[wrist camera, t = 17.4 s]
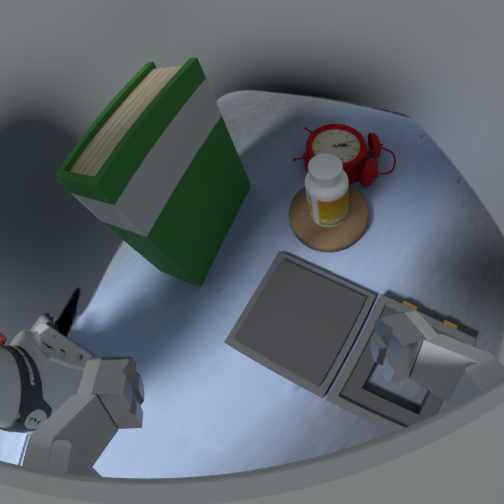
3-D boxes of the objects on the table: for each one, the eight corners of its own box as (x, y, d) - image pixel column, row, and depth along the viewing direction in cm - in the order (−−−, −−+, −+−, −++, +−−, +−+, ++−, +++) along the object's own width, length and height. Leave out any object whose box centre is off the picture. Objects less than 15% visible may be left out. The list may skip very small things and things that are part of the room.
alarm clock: (303, 118, 50) (393, 116, 42) (315, 144, 54) (398, 145, 46) (286, 164, 46) (388, 166, 38) (300, 190, 51) (393, 195, 43)
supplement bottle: (355, 208, 42) (358, 161, 34) (332, 235, 42) (330, 192, 33) (324, 189, 45) (320, 142, 36) (301, 214, 44) (292, 169, 36)
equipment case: (226, 343, 40) (221, 340, 38) (282, 250, 44) (280, 243, 42) (423, 444, 29) (428, 446, 27) (471, 337, 32) (477, 334, 31)
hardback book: (211, 178, 53) (147, 62, 32) (250, 185, 50) (197, 57, 29) (160, 271, 47) (53, 176, 26) (200, 286, 45) (95, 186, 24)
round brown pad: (276, 233, 45) (275, 228, 44) (311, 176, 48) (310, 170, 47) (348, 264, 41) (348, 260, 40) (378, 201, 44) (379, 195, 42)
